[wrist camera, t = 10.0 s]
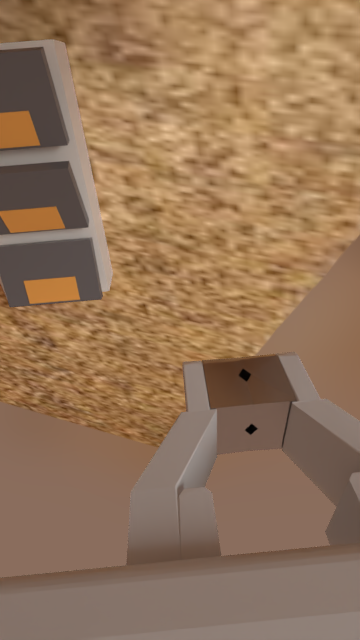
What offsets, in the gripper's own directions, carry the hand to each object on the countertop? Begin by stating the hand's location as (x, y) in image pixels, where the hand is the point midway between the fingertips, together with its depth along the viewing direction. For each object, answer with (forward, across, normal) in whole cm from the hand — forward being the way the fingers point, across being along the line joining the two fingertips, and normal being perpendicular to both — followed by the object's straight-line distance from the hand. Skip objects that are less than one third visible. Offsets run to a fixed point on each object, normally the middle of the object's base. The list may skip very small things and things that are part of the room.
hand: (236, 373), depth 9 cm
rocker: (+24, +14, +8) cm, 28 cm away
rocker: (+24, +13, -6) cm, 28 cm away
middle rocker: (+24, +13, +1) cm, 27 cm away
